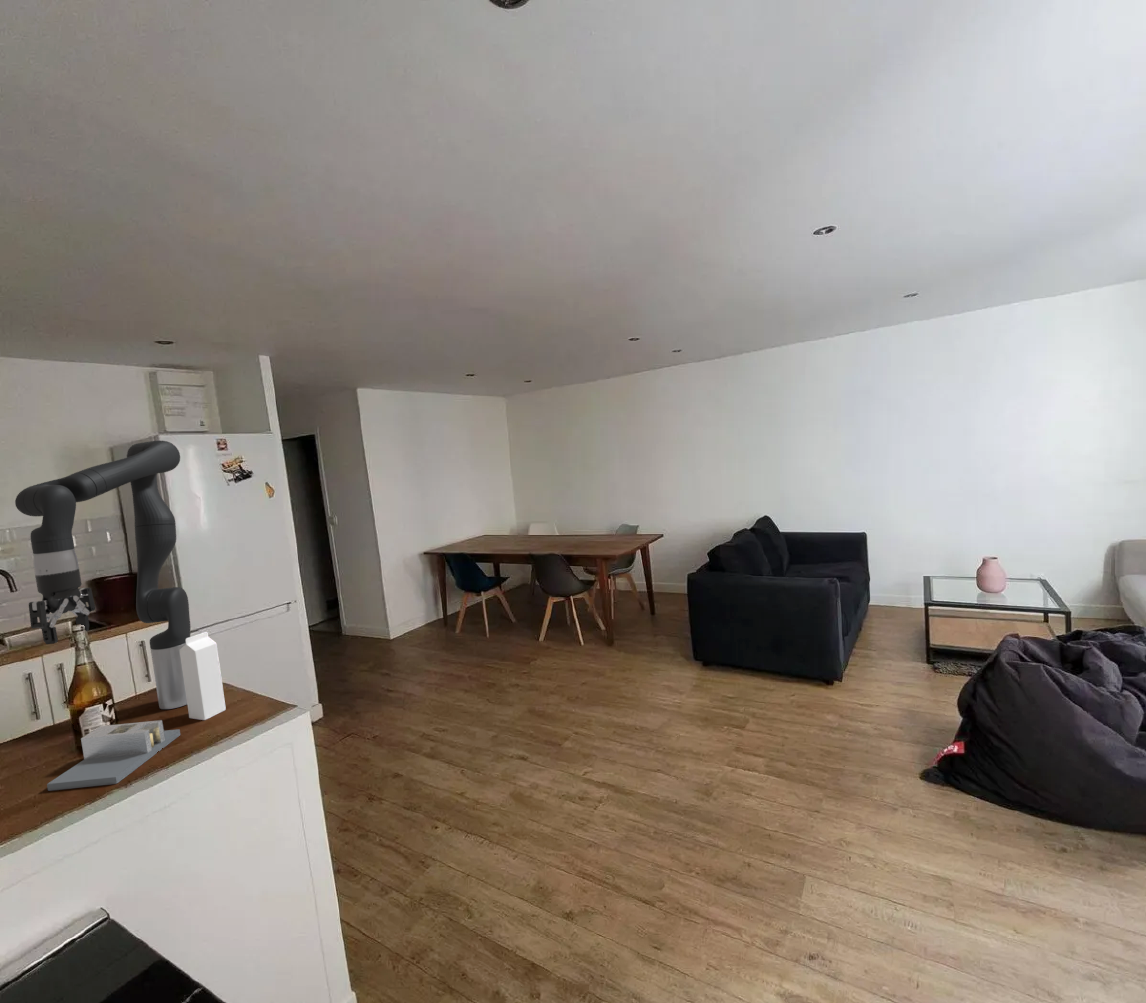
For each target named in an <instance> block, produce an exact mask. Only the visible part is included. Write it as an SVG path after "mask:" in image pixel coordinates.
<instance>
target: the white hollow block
mask: <svg viewBox="0 0 1146 1003" xmlns="http://www.w3.org/2000/svg"><path fill="white" fill-rule="evenodd" d="M164 731H165V729H164V724H163V720H162V719H158V720H150V721H149V720H148V721H140V722H130V723H129V722H128V723H121V724H110V725H101V726H99V727H97V728H96V729H94V730H92V731H91V732H89V733H87V734H86V735H85V736H83V737H81V738H80V740H81V747H82V754H83V760H84V759H93V758H103V757H113V756H123V755H133V754H143V753H148V752H150V751H151V750H152V747H151V741H150V734H149V733H152V735H153V741H154V744H156V743H162V742H163V741H165V737H164Z"/></svg>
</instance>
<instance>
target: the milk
mask: <svg viewBox="0 0 1146 1003" xmlns="http://www.w3.org/2000/svg"><path fill="white" fill-rule="evenodd" d="M180 657H181V664H182V671H183V678H184V685H185V691H186V698H187V705H186V706H187V710H188V718H189V719H194V720H200V721H201V720H202V721H207V720H209V719H210V718H212V717H214V716H216V715H218V714H220V713H223V712H225V711H226V710H227V708H226V702H225V700H226V699H225V695H224V694H225V693H224V686H223V678H222V673H221V670H222V669H221V664H220V658H219V649H218V643H217V642H216V641H215V640H213V639H212V638H211V637H210V636H209V633H208V631H204V632H200V633H198V634H195V635H192V636H190V637H189V638H186V645H185V646H183V647H182V648H181V649H180Z"/></svg>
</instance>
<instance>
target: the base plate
mask: <svg viewBox="0 0 1146 1003" xmlns="http://www.w3.org/2000/svg"><path fill="white" fill-rule="evenodd" d="M149 734H150V741H151V747H152V750H151V751H150V752H148V753H143V754H133V755H123V756H113V757H103V758H93V759H84V758H83V760H82V761H80V762H78V763H77V764H75V765H73V766H72V767H71V768H69V769H68V770H66V771H64V772H63V773H62V774H60V775H59V776H56V777H55V778H54V779H52V780H51V781H50V782H48V783H47V784H46V786H47V787H46V788H47V791H59V790H60V791H61V790H70V789H78V788H87V787H89V788H90V787H99V786H108V785H117V784H118V783H120V782H121V781H122V780H123V779H126V777H128V775H130V774H132V773H133V772H134V771H136V770H137V769H138V768H139V767H141V766H142V765H143V764H145V763H146V762H147V761H149V760H150V759H151V758H152V757H154V756H155V755H156V754H157V752H158V751H159V752H160V751H162V750H163V749H164V748H166V747H167V746H168V745H169V744H171V743H172V742H173V741H175V740H176V739H177V738H179V736H181V730H180V728H179V729H178V728H177V729H169V730H164V737H165V741H163V742H162V743H156V744H154V741H153V735H152V733H149ZM162 748H163V749H162ZM159 752H158V753H159Z"/></svg>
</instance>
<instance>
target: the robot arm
mask: <svg viewBox="0 0 1146 1003" xmlns="http://www.w3.org/2000/svg"><path fill="white" fill-rule="evenodd" d="M180 461H181V453H180V450H179V449H178V448H177V446H176V445H175V444H174V443H172V442H170V441H166V440H149V441H144V442H137V443H135V444H133V445H130V447H128V450H127V452H126V457H124V458H121V459H117V460H113V461H109V462H106V463H101V464H97V465H94V466H91V467H88V468H84V469H82V470H79V471H77V472H74V473H71V474H69V475H67V476H65V477H61V478H56V479H53V480H49V481H44V482H41V483H37V484H33V485H30V486H28V487H26V488H24V489H23V490H21V491H19V493H18V494H17V495H16V497H15V501H14V503H15V507H16V509H17V510H18V511H19V512H20V513H21V514H23V515H26V516H29V517H42V520H41V522H42V523H41V525H40V526H39V527H36V528H34V529H32V531H31V532H30V543H31V544H30V545H31V550H32V555H33V561H32V562H33V569H34V576H35V582H36V589H37V592H38V593H39V594H41V595H42V599H41V600H38V601H30V602H28V612H29V620H30V628H32V629H40V630H41V632H42V638H43V639H42V640H43V642H44V643H45V644H46V645H53V644H56V643H58V642H59V639H58V634H57V627H56V624H57V621H58V619H60V618H61V616H62V615H64V614H65V613H68V612H71V613H72V614H73V615H75V616H76V617H75V623H76V626H77V624H81V625H84V626H85V629H86V632H88V631H90V621H89V615H90V613H91V612H94V611H95V610H96V605H95V604H96V603H95V600H94V597H93V596H94V595H93V591H92V588H91V587H82V585H83V584H82V578H81V572H80V566H79V564H80V563H79V560H78V559H79V558H78V556H77V553H76V549H75V543H74V537H73V533H72V532H73V528H74V521H75V516H76V511H77V503H82V502H86V501H90V500H91V499H94V498H96V497H98V496H101V495H104V494H105V493H108V492H111V491H113V490H114V489H117V488H119V487H122V486H124V485H127V484H129V483H130V487H131V493H132V494H131V496H132V504H133V514H134V538H135V539H134V540H135V547H136V564H137V574H136V595H135V596H136V598H135V602H136V603H135V608H136V609H135V610H136V614H137V617H138V619H139V621H140V622H142V623H143V624H152V623H161V622H162V623H163V622H167V623H168V624H167V629H166V630H164V631H162V632H159V633H157V634H155V635H153V636H152V637H150V639H149V648H150V654H151V655H150V656H151V660H152V666H153V675H154V681H155V687H156V693H157V694H156V696H157V702H158V706H159V707H158V708H159V709H161V710H171V709H176V708H180V707H183V706H188V705H187V698H186V691H185V685H184V678H183V671H182V664H181V657H180V649H181V648H182V647H183V646H185V645H186V638H189V637H191V627H192V626H191V619H190V616H191V615H190V604H189V597H188V594H187V592H186V590H185V589H183V587H179V586H178V587H176V586H175V587H167V588H165V587H164V588H159V577H160V572H161V570H162V567H163V566H164V564H165V562H166V560H167V559H168V558H169V556H170V554H171V553H172V551H173V549H174V548H175V545H176V542H177V526H176V518H175V516H174V513H173V511H172V510H171V509H170V507H169V505H167V503H166V502H165V500H164V499H163V497H162V495H161V494H160V490H159V487H158V474H164V473H168V472H171V471H174V470H175V469H176V468H177V467H178V466H179V464H180ZM81 587H82V588H81ZM87 604H88V605H87ZM38 619H39V621H38Z"/></svg>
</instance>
